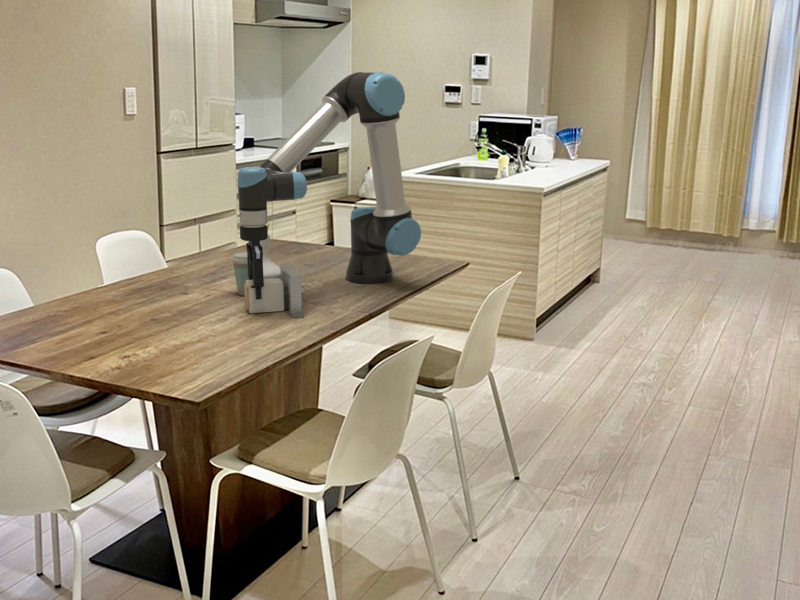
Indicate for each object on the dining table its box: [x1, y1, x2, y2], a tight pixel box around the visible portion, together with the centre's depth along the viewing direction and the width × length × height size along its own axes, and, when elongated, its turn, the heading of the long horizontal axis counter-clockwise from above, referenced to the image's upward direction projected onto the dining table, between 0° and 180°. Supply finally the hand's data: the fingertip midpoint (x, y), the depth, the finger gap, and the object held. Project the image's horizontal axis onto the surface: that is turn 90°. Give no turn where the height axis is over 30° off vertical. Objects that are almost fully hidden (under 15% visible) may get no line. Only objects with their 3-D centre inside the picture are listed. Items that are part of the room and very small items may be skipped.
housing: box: [279, 262, 305, 319], centre depth 249 cm, size 3×21×11 cm, turn 17°
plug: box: [244, 277, 303, 314], centre depth 248 cm, size 16×6×8 cm, turn 107°
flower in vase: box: [238, 211, 280, 279], centre depth 281 cm, size 13×11×25 cm
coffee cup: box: [231, 251, 249, 297], centre depth 264 cm, size 8×9×12 cm
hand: (256, 306), depth 247 cm, fingers closed on plug, 6 cm apart
